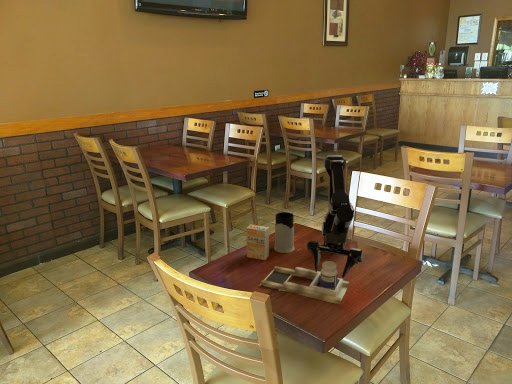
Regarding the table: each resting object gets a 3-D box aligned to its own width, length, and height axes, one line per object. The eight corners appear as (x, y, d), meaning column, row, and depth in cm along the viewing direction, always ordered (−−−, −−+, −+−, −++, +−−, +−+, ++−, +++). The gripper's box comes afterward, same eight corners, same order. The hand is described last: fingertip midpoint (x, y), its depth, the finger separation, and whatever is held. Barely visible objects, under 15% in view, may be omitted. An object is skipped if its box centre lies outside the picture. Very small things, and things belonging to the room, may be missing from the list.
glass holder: (270, 250, 167) (270, 217, 162) (282, 238, 179) (282, 206, 174) (290, 254, 163) (291, 220, 159) (301, 241, 176) (302, 209, 171)
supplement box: (246, 257, 161) (245, 227, 157) (250, 252, 165) (250, 223, 161) (265, 261, 158) (265, 230, 154) (269, 256, 162) (269, 226, 158)
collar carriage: (309, 292, 134) (309, 285, 134) (317, 279, 142) (317, 273, 141) (335, 298, 130) (336, 291, 130) (342, 285, 138) (343, 279, 137)
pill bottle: (326, 283, 140) (327, 258, 137) (340, 289, 136) (341, 263, 133) (316, 290, 136) (317, 264, 133) (330, 296, 132) (331, 269, 129)
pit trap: (259, 286, 140) (259, 285, 140) (275, 268, 152) (275, 267, 152) (279, 291, 136) (279, 289, 136) (294, 272, 148) (294, 271, 148)
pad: (316, 296, 133) (316, 295, 133) (324, 282, 141) (324, 282, 141) (340, 301, 130) (340, 301, 130) (347, 287, 138) (347, 287, 138)
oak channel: (261, 285, 140) (260, 277, 139) (275, 269, 151) (275, 262, 150) (339, 304, 128) (339, 296, 127) (348, 285, 139) (349, 277, 138)
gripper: (309, 218, 136) (297, 261, 130) (364, 227, 128) (354, 273, 122) (315, 231, 145) (304, 272, 139) (367, 240, 137) (358, 283, 131)
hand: (329, 274), depth 133 cm, fingers open, 9 cm apart
